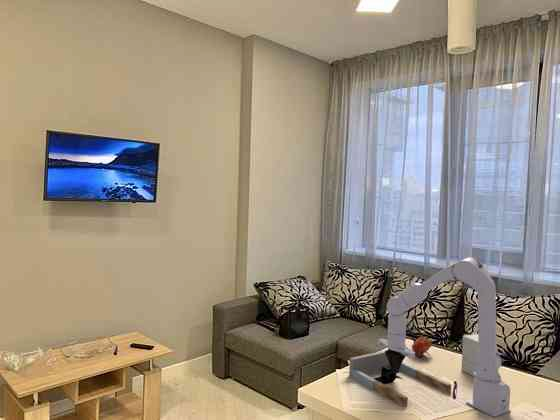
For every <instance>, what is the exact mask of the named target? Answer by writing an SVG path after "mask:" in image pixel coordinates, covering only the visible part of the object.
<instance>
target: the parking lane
mask: <svg viewBox="0 0 560 420" xmlns="http://www.w3.org/2000/svg"><path fill="white" fill-rule="evenodd" d="M387 350H388V349H387ZM387 350H386V349H385V350H382V351H377V352H372V353H367V354H362V355H358V356H353V357H350V358H349V367H348V369H349V373H348V375H349V377H350V378H353V379H355V380H356V381H358V382H359V383H361V384H363V385H365V386H367V387H368V388H370V389H372V390H374V391H375V392H377V393H378V394H381V395H382V396H384V397H386V398H388V399H389V400H391V401H392V402H394V403H396V404H398V405H400V406H401V407H403V408H406V407H408V399H409V398H408V396H406V395H404V394H402V393H400V392H399V391H397V390H395V389H394V388H391V387H390V386H388V385H387V384H385V385H384V384H382V383H380V382H379V381H377V380H375V379H373V378H374V377H371V376H369V375H368V374H370V373H371V374H372V373H374V372H380V371H381V369H382V366H387V365H390V364H389V361H388V358H387V356H386V354H385V351H387ZM399 371H401V372H404V373H406V374H408V375H410V376H412V377H414V378H416V379H417V380H420V381H422V382H424V383H426V384H428V385H430V386H433V387H435V388H436V389H438V390H440V391H443V392H444V393H446V394H450V393H452V384H451V383H449V382H447V381H444V380H443V379H440V378H439V377H436V376H434V375H433V374H432V375H431V374H429V373H428V372H426V371H423V370H421V369H419V368H416V367H414V366H413V365H410V364H408V363H406V362H402V364H401V366H400V369H399Z"/></svg>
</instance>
